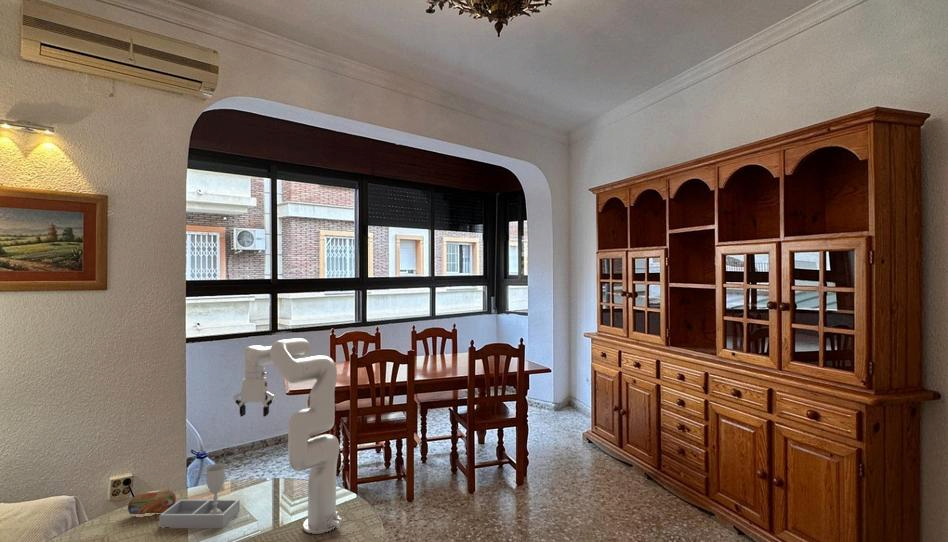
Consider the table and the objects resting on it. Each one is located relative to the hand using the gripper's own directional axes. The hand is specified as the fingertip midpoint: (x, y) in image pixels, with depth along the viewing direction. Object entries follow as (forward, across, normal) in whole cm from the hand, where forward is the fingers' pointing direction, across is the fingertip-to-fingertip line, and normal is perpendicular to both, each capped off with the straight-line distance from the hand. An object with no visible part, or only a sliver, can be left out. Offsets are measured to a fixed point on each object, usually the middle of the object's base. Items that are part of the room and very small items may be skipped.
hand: (254, 415), depth 194 cm
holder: (+30, +7, +26) cm, 40 cm away
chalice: (+30, +2, +26) cm, 39 cm away
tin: (+31, +27, +22) cm, 46 cm away
